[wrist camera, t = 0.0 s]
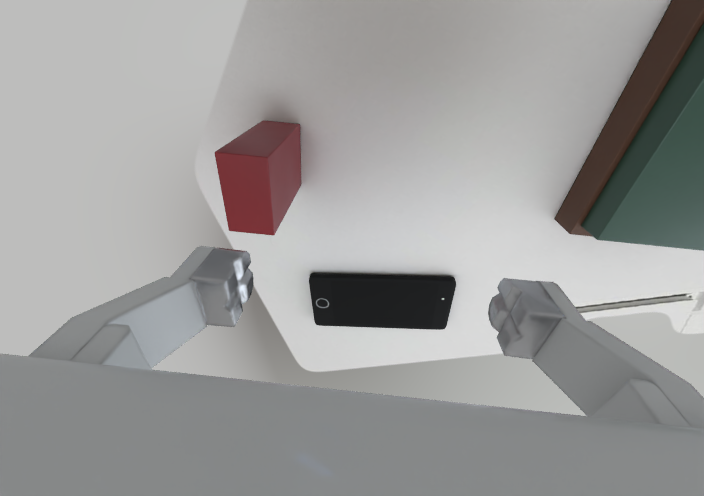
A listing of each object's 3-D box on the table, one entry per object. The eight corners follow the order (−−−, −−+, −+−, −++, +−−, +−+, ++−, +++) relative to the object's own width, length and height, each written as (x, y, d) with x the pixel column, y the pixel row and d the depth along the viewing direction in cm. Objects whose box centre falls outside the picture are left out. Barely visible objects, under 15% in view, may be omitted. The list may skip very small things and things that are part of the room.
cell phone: (309, 272, 37) (308, 277, 36) (455, 275, 36) (457, 280, 35) (316, 320, 42) (314, 325, 41) (444, 324, 41) (445, 330, 40)
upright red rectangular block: (262, 120, 27) (213, 152, 19) (300, 123, 27) (267, 157, 19) (268, 182, 31) (228, 232, 22) (301, 185, 31) (274, 236, 22)
